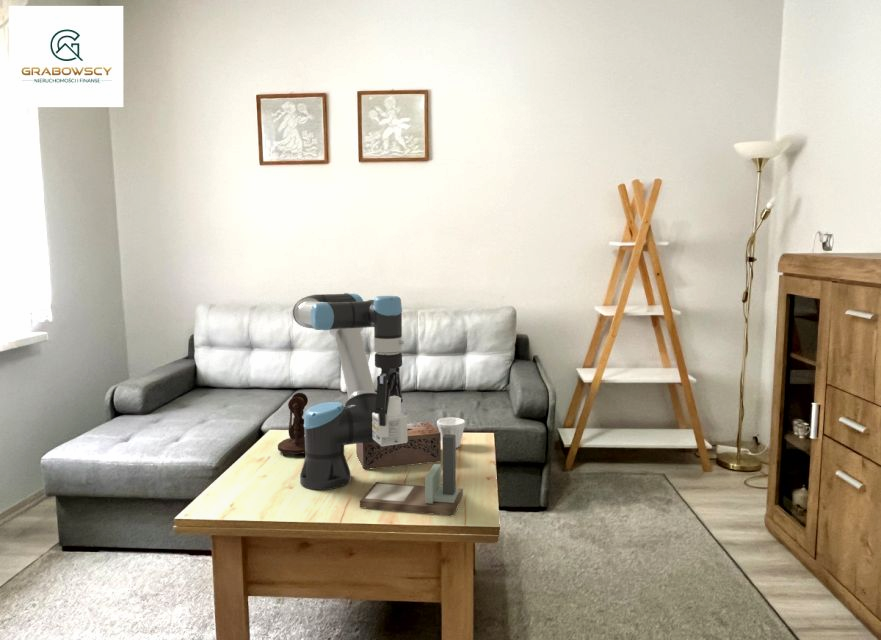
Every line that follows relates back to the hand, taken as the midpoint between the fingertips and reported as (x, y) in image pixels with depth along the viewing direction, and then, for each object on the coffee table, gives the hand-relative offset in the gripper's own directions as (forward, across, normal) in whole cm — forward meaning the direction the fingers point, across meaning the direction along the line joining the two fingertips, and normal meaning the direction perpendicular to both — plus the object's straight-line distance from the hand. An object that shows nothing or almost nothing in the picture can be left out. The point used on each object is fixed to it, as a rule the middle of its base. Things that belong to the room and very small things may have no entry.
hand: (389, 430), depth 176 cm
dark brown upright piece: (+20, +35, +43) cm, 59 cm away
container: (+3, 0, 0) cm, 3 cm away
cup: (+20, +50, -8) cm, 54 cm away
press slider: (+18, 0, -15) cm, 23 cm away
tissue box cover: (+20, +34, +7) cm, 40 cm away
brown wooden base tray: (+20, 0, -6) cm, 21 cm away
